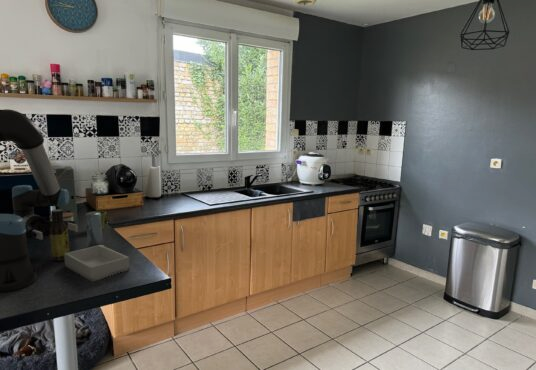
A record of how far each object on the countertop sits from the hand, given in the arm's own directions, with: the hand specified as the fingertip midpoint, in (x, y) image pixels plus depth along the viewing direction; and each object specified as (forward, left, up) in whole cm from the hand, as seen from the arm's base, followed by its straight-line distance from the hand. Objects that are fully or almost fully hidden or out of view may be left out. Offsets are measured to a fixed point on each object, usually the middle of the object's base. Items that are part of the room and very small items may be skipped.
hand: (60, 232), depth 150 cm
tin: (+15, -4, -11) cm, 19 cm away
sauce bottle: (-1, 0, -11) cm, 11 cm away
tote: (-7, -20, -11) cm, 24 cm away
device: (+50, +37, -11) cm, 63 cm away
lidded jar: (+37, +30, -11) cm, 49 cm away
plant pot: (+41, +12, -11) cm, 44 cm away
